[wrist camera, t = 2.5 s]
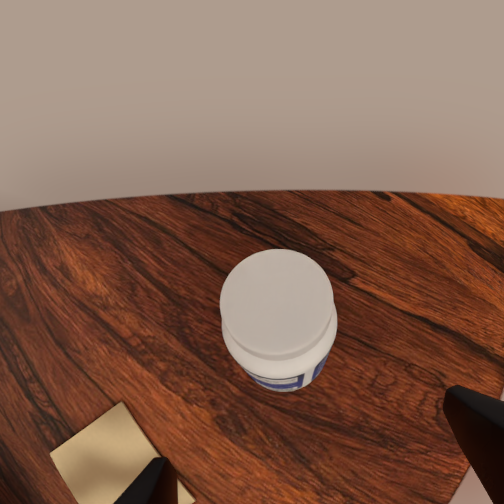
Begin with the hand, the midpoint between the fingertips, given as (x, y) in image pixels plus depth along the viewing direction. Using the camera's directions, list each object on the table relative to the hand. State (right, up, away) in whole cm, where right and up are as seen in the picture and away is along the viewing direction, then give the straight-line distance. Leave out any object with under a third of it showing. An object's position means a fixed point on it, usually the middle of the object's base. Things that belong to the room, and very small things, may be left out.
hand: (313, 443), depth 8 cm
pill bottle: (0, -1, +13) cm, 14 cm away
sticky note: (-12, -11, +9) cm, 18 cm away
